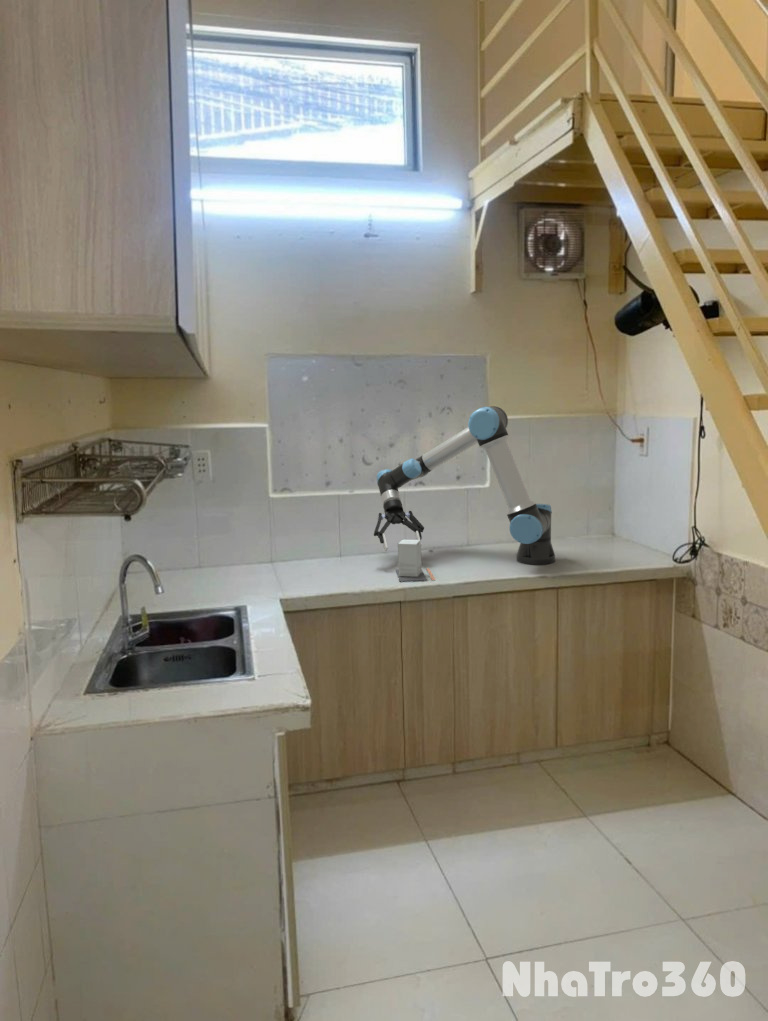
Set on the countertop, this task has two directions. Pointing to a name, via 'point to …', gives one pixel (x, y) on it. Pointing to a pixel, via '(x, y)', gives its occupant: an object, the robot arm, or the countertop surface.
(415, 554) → the supplement box
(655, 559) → the countertop surface
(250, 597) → the countertop surface
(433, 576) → the terracotta line
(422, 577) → the mat
